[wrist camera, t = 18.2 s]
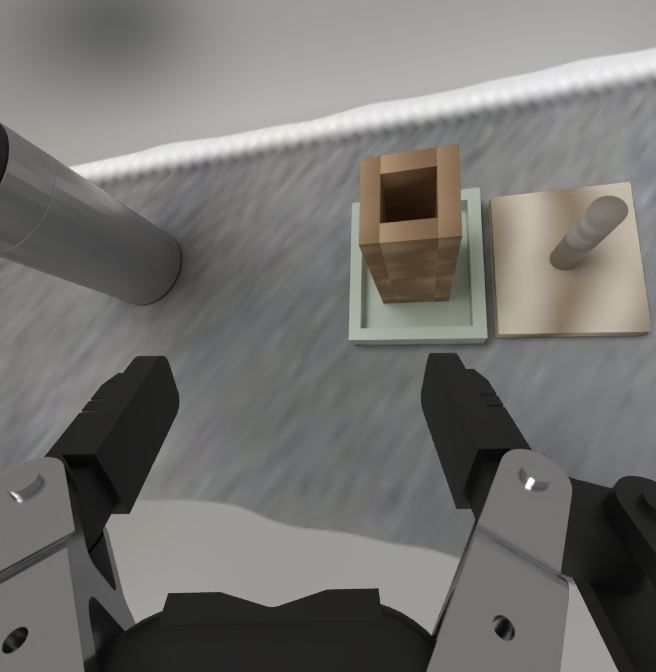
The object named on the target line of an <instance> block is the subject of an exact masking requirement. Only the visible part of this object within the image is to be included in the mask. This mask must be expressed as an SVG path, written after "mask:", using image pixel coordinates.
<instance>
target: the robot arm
mask: <svg viewBox="0 0 656 672" xmlns="http://www.w3.org/2000/svg"><path fill="white" fill-rule="evenodd" d="M0 257H2V258H5V259H8V260H11V261H13V262H16V263H19V264H22V265H25V266H28V267H30V268H33V269H36V270H39V271H42V272H45V273H47V274H50V275H53V276H56V277H59V278H62V279H64V280H67V281H70V282H73V283H76V284H79V285H81V286H84V287H87V288H90V289H93V290H96V291H98V292H101V293H104V294H106V295H109V296H112V297H115V298H118V299H121V300H124V301H126V302H129V303H132V304H137V305H145V304H149V303H152V302H154V301H156V300H158V299H159V298H161V297H162V296H163V295H164V294H166V292H167V291H168V290H169V289H170V288H171V286H172V285H173V283H174V282H175V280H176V277H177V275H178V272H179V268H180V258H181V256H180V250H179V247H178V245H177V243H176V241H175V240H174V239H173V238H172V237H171V236H170V235H168V234H167V233H165V232H164V231H162V230H161V229H159V228H158V227H156V226H155V225H153V224H152V223H150V222H149V221H147V220H146V219H145V218H143V217H142V216H140V215H139V214H137V213H136V212H134V211H133V210H131V209H130V208H128V207H127V206H125V205H124V204H122V203H121V202H119V201H118V200H116V199H115V198H113V197H112V196H110V195H109V194H107V193H106V192H104V191H103V190H101V189H100V188H98V187H97V186H95V185H94V184H92V183H91V182H89V181H88V180H86V179H85V178H83V177H82V176H80V175H79V174H77V173H76V172H74V171H73V170H71V169H70V168H68V167H67V166H65V165H64V164H62V163H61V162H59V161H58V160H56V159H55V158H53V157H52V156H50V155H49V154H47V153H46V152H44V151H43V150H41V149H39V148H38V147H36V146H35V145H33V144H32V143H31V142H29V141H28V140H26V139H24V138H23V137H22V136H20V135H19V134H17V133H15V132H14V131H13V130H11V129H9V128H8V127H6V126H5V125H4V124H2V123H0ZM421 404H422V409H423V413H424V416H425V419H426V421H427V424H428V427H429V430H430V433H431V436H432V439H433V442H434V445H435V448H436V450H437V453H438V456H439V459H440V462H441V465H442V468H443V471H444V474H445V477H446V480H447V482H448V485H449V488H450V491H451V494H452V497H453V500H454V503H455V506H456V509H472V512H473V514H474V517H475V522H474V524H473V527H472V530H471V532H470V535H469V538H468V540H467V543H466V546H465V548H464V551H463V554H462V556H461V559H460V562H459V565H458V567H457V570H456V573H455V575H454V578H453V581H452V583H451V586H450V589H449V591H448V594H447V596H446V599H445V602H444V604H443V606H442V609H441V612H440V614H439V617H438V619H437V622H436V625H435V627H434V630H433V632H432V635H430V634H429V633H428V632H427V631H426V630H425V629H424V628H423V627H422V626H420V625H419V624H418V623H417V622H415V621H414V620H413V619H411V618H409V617H408V616H406V615H405V614H403V613H401V612H399V611H397V610H395V609H392V608H390V607H387V606H385V605H382V604H380V597H379V589H378V588H376V589H333V590H325V591H322V592H319V593H316V594H313V595H310V596H307V597H304V598H301V599H298V600H295V601H292V602H289V603H286V604H283V605H280V606H277V607H267V606H263V605H260V604H257V603H254V602H251V601H247V600H244V599H241V598H238V597H234V596H231V595H228V594H224V593H221V592H204V593H169V594H168V596H167V599H166V602H165V605H164V608H163V611H161V612H158V613H156V614H154V615H152V616H150V617H148V618H145V619H144V620H142V621H140V622H139V623H137V624H135V621H134V619H133V616H132V614H131V612H130V610H129V607H128V606H127V603H126V601H125V598H124V595H123V591H122V587H121V583H120V579H119V575H118V570H117V566H116V562H115V558H114V554H113V550H112V546H111V542H110V538H109V534H108V531H107V529H106V527H105V525H106V523H107V521H108V519H109V517H110V515H111V514H130V512H131V510H132V507H133V505H134V503H135V501H136V499H137V497H138V495H139V493H140V491H141V489H142V486H143V484H144V482H145V480H146V478H147V476H148V474H149V472H150V470H151V467H152V465H153V463H154V461H155V459H156V457H157V455H158V453H159V451H160V449H161V446H162V444H163V442H164V440H165V438H166V436H167V434H168V432H169V430H170V428H171V425H172V423H173V421H174V419H175V417H176V415H177V412H178V409H179V393H178V390H177V387H176V384H175V381H174V378H173V375H172V371H171V368H170V365H169V362H168V360H167V358H166V357H165V356H137V357H135V358H134V359H133V361H132V362H131V363H130V365H129V366H128V367H127V369H126V370H125V371H124V372H123V373H118V374H116V375H115V376H114V377H112V378H111V379H110V380H108V381H107V382H105V383H104V384H103V385H101V387H100V388H99V389H98V390H97V392H96V393H95V394H94V395H93V397H92V398H91V401H89V402H88V403H87V404H86V405H85V407H84V408H83V409H82V413H79V414H78V415H77V417H76V418H75V419H74V420H73V422H72V423H71V424H70V425H69V427H68V428H67V429H66V430H65V432H64V433H63V434H62V435H61V437H60V438H59V439H58V440H57V442H56V443H55V444H54V445H53V447H52V448H51V449H50V450H49V452H48V453H47V454H46V455H45V457H43V458H37V459H34V460H30V461H28V462H25V463H23V464H21V465H19V466H17V467H15V468H13V469H11V470H10V471H8V472H7V473H6V474H4V475H3V476H2V477H1V478H0V672H560V666H561V658H562V649H563V642H564V633H565V625H566V616H567V608H568V599H569V585H568V582H567V580H566V579H564V578H563V577H561V574H563V575H566V576H569V577H572V578H573V579H574V581H575V583H576V585H577V587H578V589H579V591H580V593H581V596H582V597H583V600H584V601H585V603H586V606H587V608H588V610H589V612H590V614H591V616H592V618H593V620H594V622H595V624H596V626H597V628H598V630H599V632H600V634H601V636H602V638H603V641H604V642H605V644H606V647H607V649H608V651H609V653H610V655H611V656H612V659H613V661H614V663H615V665H616V667H617V669H618V671H619V672H656V482H655V481H653V480H650V479H647V478H643V477H638V476H626V477H623V478H621V479H619V480H618V481H617V482H616V484H615V485H614V486H613V488H608V487H604V486H600V485H596V484H592V483H588V482H584V481H580V480H576V479H573V478H570V477H568V476H567V475H566V473H565V472H564V471H563V470H562V468H561V467H560V466H558V465H557V464H556V463H555V462H554V461H552V460H551V459H549V458H548V457H546V456H544V455H542V454H540V453H537V452H535V451H532V450H531V448H530V447H529V445H528V443H527V442H526V440H525V439H524V437H523V435H522V434H521V432H520V431H519V429H518V427H517V426H516V424H515V423H514V421H513V419H512V418H511V416H510V415H509V413H508V411H507V410H506V408H505V407H503V403H502V402H501V400H500V399H499V397H498V396H496V392H495V391H494V389H493V388H492V386H491V384H490V383H489V381H488V380H487V379H486V378H484V377H483V376H482V375H481V374H479V373H478V372H477V371H476V370H475V369H466V368H465V367H464V365H463V363H462V361H461V360H460V358H459V356H458V355H457V354H456V353H430V354H429V356H428V360H427V365H426V370H425V375H424V380H423V385H422V390H421Z"/></svg>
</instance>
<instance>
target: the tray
mask: <svg viewBox="0 0 656 672" xmlns="http://www.w3.org/2000/svg"><path fill="white" fill-rule="evenodd" d="M359 210H360V202H359V203H352V231H351V269H350V308H349V341H350V342H352V343H353V344H354V345H400V344H483V343H484V342H485V340H486V339H487V338H488V336H487V318H486V299H485V280H484V261H483V242H482V223H481V204H480V187H479V188H471V189H463V190H461V214H462V240H461V244H460V249H459V254H458V259H457V264H456V268H455V273H454V278H453V283H452V288H451V292H450V297H449V301H441V302H414V303H387V304H383V302H382V299H381V297H380V295H379V292H378V290H377V287H376V285H375V283H374V280H373V278H372V276H371V273H370V271H369V268H368V266H367V264H366V261H365V259H364V257H363V254H362V252H361V249H360V247H359Z"/></svg>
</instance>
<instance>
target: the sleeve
mask: <svg viewBox="0 0 656 672" xmlns="http://www.w3.org/2000/svg"><path fill="white" fill-rule="evenodd" d="M461 240H462V214H461V185H460V156H459V144H455V145H449V146H442V147H436V148H429V149H423V150H416V151H410V152H404V153H397V154H391V155H384V156H378V157H371V158H365V159H361V173H360V210H359V247H360V249H361V252H362V254H363V257H364V259H365V261H366V264H367V266H368V268H369V271H370V273H371V276H372V278H373V280H374V283H375V285H376V287H377V290H378V292H379V295H380V297H381V299H382V302H383V304H387V303H414V302H441V301H449V297H450V292H451V288H452V283H453V278H454V273H455V268H456V264H457V259H458V254H459V249H460V244H461Z"/></svg>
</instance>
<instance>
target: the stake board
mask: <svg viewBox="0 0 656 672" xmlns="http://www.w3.org/2000/svg"><path fill="white" fill-rule="evenodd" d="M488 220H489V237H490V254H491V272H492V289H493V307H494V324H495V338H507V337H577V336H640V335H643V334H646V333H649V332H652V328H651V321H650V315H649V308H648V301H647V294H646V287H645V281H644V274H643V267H642V260H641V253H640V247H639V240H638V233H637V226H636V219H635V213H634V206H633V199H632V192H631V185H630V182H624V183H615V184H607V185H598V186H589V187H581V188H572V189H564V190H555V191H546V192H538V193H529V194H521V195H512V196H504V197H495V198H491V199H490V202H489V205H488Z"/></svg>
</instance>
